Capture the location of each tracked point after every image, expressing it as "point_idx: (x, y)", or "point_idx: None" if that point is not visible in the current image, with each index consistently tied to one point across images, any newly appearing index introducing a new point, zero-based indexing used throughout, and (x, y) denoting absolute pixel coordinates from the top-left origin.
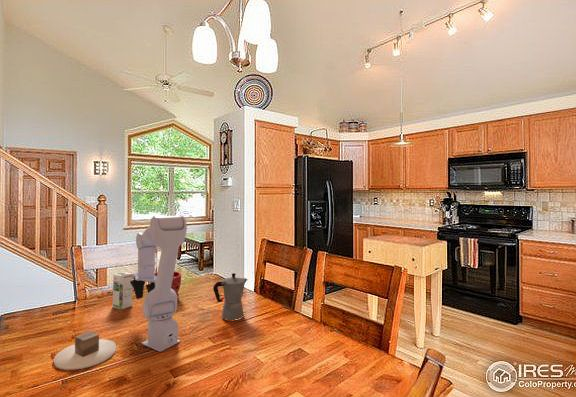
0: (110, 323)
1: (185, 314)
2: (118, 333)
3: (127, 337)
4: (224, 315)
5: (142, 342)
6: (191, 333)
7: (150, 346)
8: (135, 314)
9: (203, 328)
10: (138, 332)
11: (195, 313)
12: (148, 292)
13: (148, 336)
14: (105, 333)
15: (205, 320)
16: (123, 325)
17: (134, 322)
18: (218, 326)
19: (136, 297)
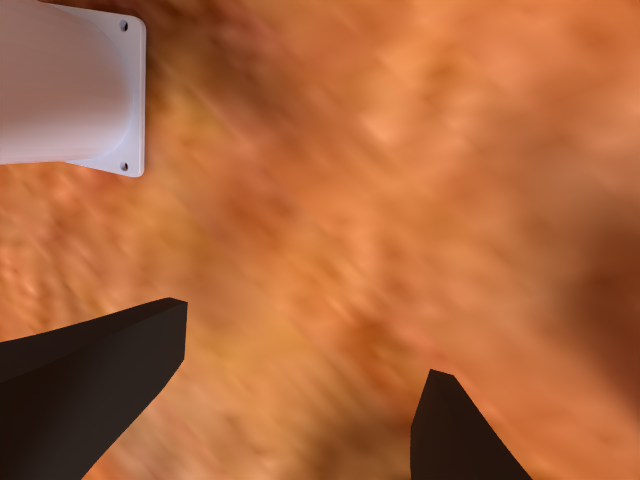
0: (632, 189)
1: (236, 440)
2: (417, 76)
3: (305, 57)
4: None
5: (136, 23)
6: (44, 253)
7: (59, 6)
8: (545, 377)
9: (42, 318)
10: (297, 150)
11: (199, 460)
12: (18, 362)
13: (41, 3)
14: (522, 26)
15: None
16: (488, 198)
17: (446, 266)
18: None
19: (450, 383)
